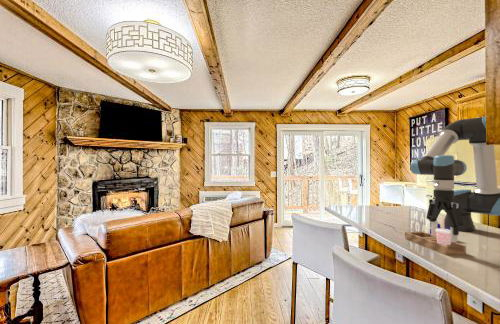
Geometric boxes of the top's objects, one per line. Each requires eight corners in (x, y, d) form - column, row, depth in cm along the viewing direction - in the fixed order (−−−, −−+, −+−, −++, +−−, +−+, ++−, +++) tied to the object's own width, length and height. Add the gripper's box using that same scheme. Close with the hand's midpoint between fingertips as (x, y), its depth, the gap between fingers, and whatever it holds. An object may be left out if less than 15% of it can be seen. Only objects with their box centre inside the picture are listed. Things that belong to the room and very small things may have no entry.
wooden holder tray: (405, 238, 135) (405, 232, 135) (422, 238, 137) (422, 231, 137) (445, 254, 112) (445, 246, 112) (466, 253, 113) (466, 245, 113)
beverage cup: (435, 246, 123) (436, 216, 123) (452, 249, 119) (452, 218, 119) (434, 250, 118) (434, 219, 118) (451, 253, 114) (452, 221, 114)
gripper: (417, 187, 129) (417, 232, 129) (458, 192, 107) (459, 246, 107) (431, 186, 130) (431, 231, 130) (475, 191, 108) (475, 246, 108)
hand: (443, 238), depth 118 cm, fingers open, 9 cm apart
